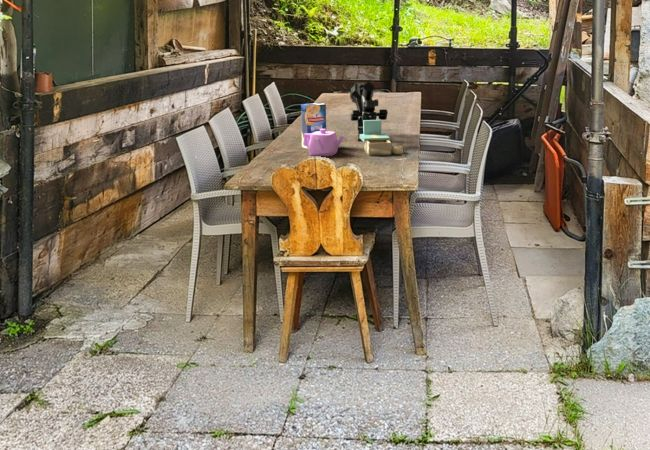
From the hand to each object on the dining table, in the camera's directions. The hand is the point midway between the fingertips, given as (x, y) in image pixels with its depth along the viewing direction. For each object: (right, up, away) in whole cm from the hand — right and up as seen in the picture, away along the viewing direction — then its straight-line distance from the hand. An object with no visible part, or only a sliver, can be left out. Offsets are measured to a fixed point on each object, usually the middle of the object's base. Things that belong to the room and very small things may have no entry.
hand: (371, 127), depth 434 cm
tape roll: (+12, -14, -17) cm, 25 cm away
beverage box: (-29, -9, +5) cm, 31 cm away
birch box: (+2, -14, -16) cm, 21 cm away
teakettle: (-24, -15, -16) cm, 33 cm away
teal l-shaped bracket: (+1, -7, -9) cm, 11 cm away
